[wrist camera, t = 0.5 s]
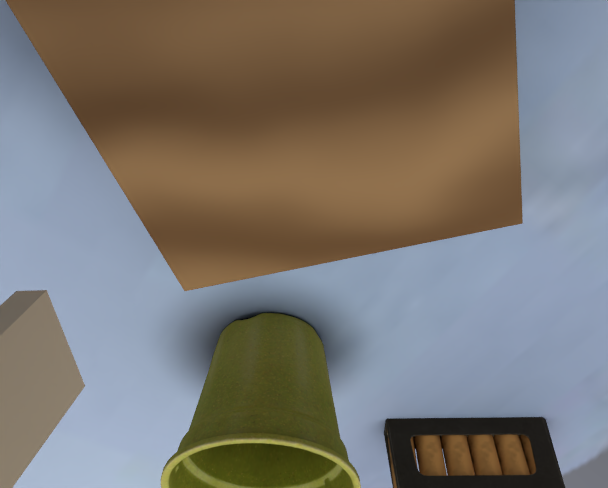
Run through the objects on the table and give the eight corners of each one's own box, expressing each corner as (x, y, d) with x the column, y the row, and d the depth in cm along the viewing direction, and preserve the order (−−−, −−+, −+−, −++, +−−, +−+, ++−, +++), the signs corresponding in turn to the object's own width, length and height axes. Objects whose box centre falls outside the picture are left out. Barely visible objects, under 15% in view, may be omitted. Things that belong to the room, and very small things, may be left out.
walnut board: (-47, -134, 18) (-71, -124, 16) (487, -336, 15) (502, -341, 14) (189, 269, 29) (184, 291, 28) (513, 201, 26) (522, 223, 25)
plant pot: (173, 372, 35) (143, 517, 29) (210, 271, 29) (184, 424, 23) (315, 402, 37) (317, 543, 31) (377, 313, 31) (395, 464, 25)
